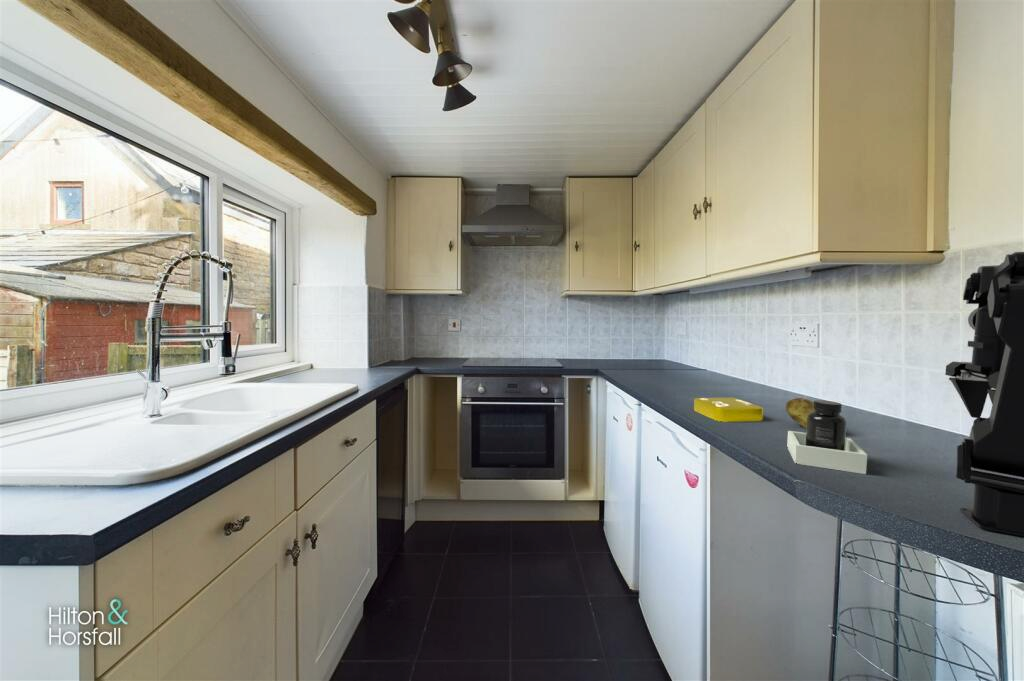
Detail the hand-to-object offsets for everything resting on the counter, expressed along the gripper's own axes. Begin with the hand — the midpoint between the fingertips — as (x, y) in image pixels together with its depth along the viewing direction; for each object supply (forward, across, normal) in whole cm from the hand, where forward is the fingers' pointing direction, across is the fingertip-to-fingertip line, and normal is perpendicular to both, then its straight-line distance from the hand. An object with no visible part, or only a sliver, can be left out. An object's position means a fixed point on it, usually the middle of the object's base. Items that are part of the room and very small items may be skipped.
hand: (990, 423), depth 71 cm
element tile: (+14, +40, +40) cm, 58 cm away
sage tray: (+13, +7, +22) cm, 26 cm away
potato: (+13, +34, +20) cm, 41 cm away
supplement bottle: (+12, +7, +22) cm, 26 cm away
